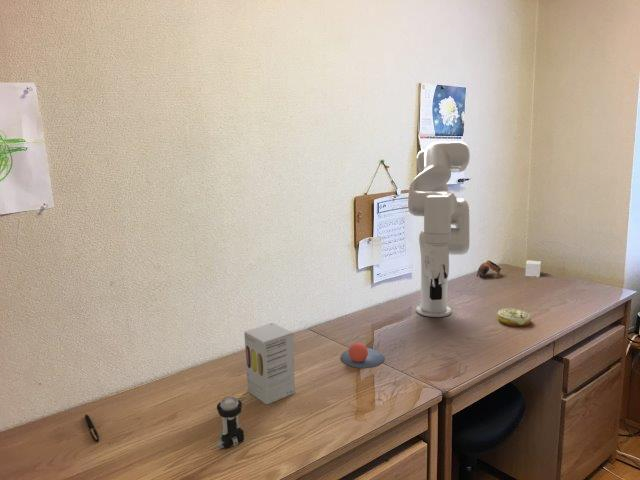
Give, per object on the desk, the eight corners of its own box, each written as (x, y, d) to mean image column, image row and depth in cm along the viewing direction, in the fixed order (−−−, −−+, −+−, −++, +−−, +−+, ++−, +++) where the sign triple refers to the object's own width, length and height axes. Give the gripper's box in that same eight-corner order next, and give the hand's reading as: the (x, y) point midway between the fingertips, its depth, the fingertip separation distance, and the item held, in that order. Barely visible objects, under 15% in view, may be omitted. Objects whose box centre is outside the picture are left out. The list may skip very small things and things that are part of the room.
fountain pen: (82, 416, 118) (82, 410, 118) (88, 414, 119) (87, 409, 118) (95, 445, 106) (94, 439, 106) (101, 443, 107) (100, 437, 107)
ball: (364, 339, 144) (362, 357, 145) (347, 339, 143) (344, 357, 144) (371, 347, 139) (369, 365, 140) (353, 347, 137) (351, 366, 138)
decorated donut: (526, 330, 162) (527, 319, 161) (493, 324, 168) (494, 313, 167) (533, 320, 170) (534, 310, 169) (501, 314, 176) (502, 304, 175)
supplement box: (246, 391, 127) (242, 330, 124) (275, 379, 133) (272, 321, 129) (266, 405, 120) (263, 342, 116) (296, 392, 126) (294, 331, 122)
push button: (223, 456, 101) (219, 413, 99) (209, 445, 105) (206, 403, 103) (249, 442, 105) (246, 400, 103) (235, 432, 109) (232, 392, 107)
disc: (338, 349, 150) (337, 349, 150) (379, 347, 151) (379, 346, 151) (344, 369, 137) (344, 368, 137) (389, 366, 139) (389, 365, 138)
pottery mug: (479, 273, 230) (489, 259, 228) (495, 285, 225) (506, 270, 223) (469, 272, 221) (480, 257, 218) (486, 285, 216) (497, 269, 213)
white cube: (540, 273, 225) (541, 261, 224) (539, 277, 220) (540, 264, 218) (526, 272, 228) (526, 260, 226) (525, 275, 222) (526, 263, 221)
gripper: (416, 233, 146) (415, 291, 150) (432, 244, 131) (431, 308, 135) (440, 232, 147) (439, 290, 150) (459, 242, 132) (457, 306, 136)
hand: (435, 298), depth 143 cm, fingers closed
